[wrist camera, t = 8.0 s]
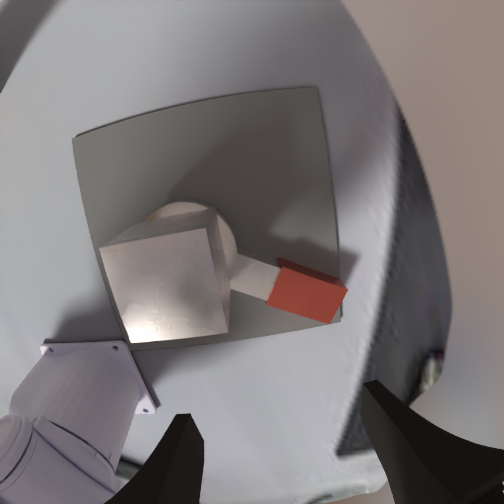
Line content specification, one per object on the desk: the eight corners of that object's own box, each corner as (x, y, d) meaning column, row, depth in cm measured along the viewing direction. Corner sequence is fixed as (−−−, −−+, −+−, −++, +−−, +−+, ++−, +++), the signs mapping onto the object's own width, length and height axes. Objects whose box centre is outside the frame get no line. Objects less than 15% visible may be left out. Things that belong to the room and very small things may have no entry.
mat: (130, 348, 21) (129, 350, 21) (73, 138, 16) (71, 138, 16) (339, 319, 21) (340, 321, 21) (315, 87, 16) (316, 86, 16)
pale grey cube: (156, 296, 17) (131, 342, 12) (136, 222, 16) (99, 248, 11) (230, 286, 17) (228, 332, 12) (215, 207, 16) (205, 228, 11)
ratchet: (134, 272, 19) (105, 307, 14) (159, 185, 17) (129, 195, 12) (312, 330, 21) (331, 377, 16) (350, 256, 19) (383, 287, 14)
